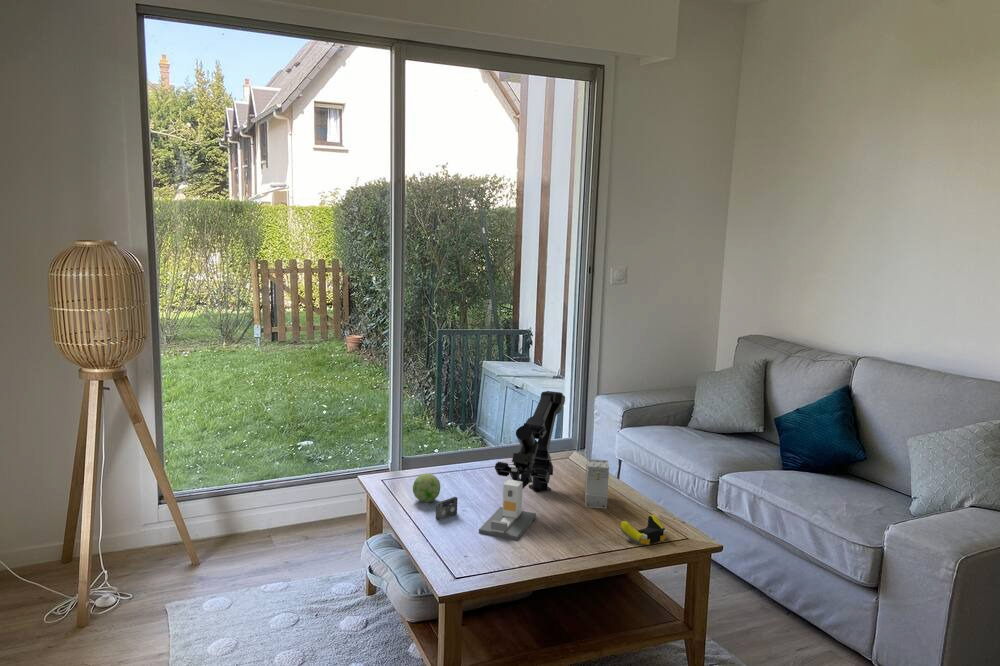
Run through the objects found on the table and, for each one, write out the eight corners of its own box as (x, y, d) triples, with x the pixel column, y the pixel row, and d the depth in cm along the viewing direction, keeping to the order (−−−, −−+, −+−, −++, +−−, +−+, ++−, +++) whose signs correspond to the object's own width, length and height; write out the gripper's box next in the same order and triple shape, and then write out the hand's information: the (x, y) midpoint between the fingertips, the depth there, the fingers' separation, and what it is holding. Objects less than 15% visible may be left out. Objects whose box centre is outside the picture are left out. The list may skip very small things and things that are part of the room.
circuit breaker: (604, 493, 269) (607, 454, 266) (606, 508, 255) (609, 467, 252) (584, 492, 269) (586, 453, 267) (585, 506, 255) (587, 466, 253)
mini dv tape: (454, 512, 247) (454, 496, 246) (457, 514, 245) (457, 497, 245) (435, 519, 241) (436, 502, 240) (438, 520, 240) (438, 503, 239)
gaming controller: (616, 536, 232) (637, 549, 224) (617, 520, 232) (638, 532, 223) (652, 528, 240) (673, 540, 231) (653, 512, 239) (674, 523, 231)
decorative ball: (443, 504, 253) (444, 477, 251) (416, 508, 249) (416, 480, 248) (435, 494, 262) (436, 468, 260) (409, 497, 258) (409, 470, 257)
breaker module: (507, 511, 245) (508, 479, 243) (521, 514, 243) (522, 481, 241) (501, 518, 239) (502, 485, 237) (515, 520, 238) (517, 487, 236)
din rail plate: (500, 510, 250) (500, 498, 249) (535, 516, 246) (536, 504, 245) (478, 532, 231) (479, 519, 231) (517, 540, 227) (517, 526, 226)
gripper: (497, 439, 249) (484, 479, 241) (549, 446, 243) (538, 488, 234) (504, 454, 258) (492, 494, 249) (554, 462, 252) (543, 503, 243)
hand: (515, 494), depth 244 cm, fingers closed
